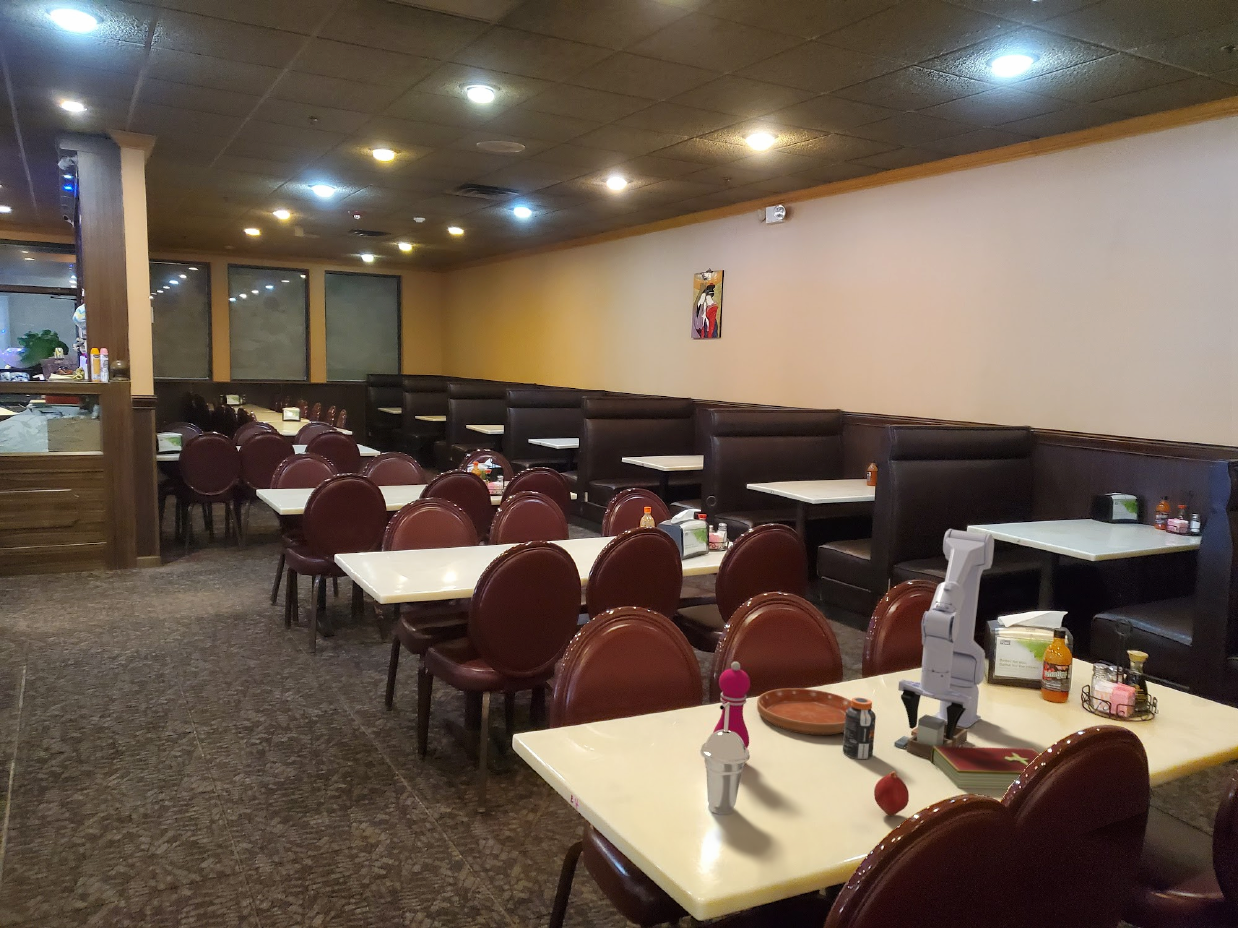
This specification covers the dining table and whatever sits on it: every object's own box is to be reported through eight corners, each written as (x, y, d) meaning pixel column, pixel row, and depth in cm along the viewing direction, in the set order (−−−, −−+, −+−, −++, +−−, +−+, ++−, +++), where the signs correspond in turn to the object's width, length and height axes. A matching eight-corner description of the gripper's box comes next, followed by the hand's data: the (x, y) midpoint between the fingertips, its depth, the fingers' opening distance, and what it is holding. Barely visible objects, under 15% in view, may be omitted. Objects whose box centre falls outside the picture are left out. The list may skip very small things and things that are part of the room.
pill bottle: (873, 761, 179) (878, 706, 178) (843, 757, 181) (847, 702, 180) (871, 750, 185) (875, 696, 184) (841, 746, 186) (846, 693, 185)
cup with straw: (755, 810, 156) (763, 698, 154) (723, 826, 149) (730, 709, 148) (717, 792, 162) (724, 684, 160) (684, 807, 155) (691, 694, 154)
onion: (867, 806, 159) (871, 763, 159) (899, 807, 160) (902, 764, 159) (879, 822, 153) (883, 777, 153) (912, 823, 154) (916, 778, 153)
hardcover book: (930, 763, 181) (932, 743, 181) (1030, 766, 182) (1032, 746, 182) (956, 790, 169) (958, 769, 169) (1063, 793, 171) (1065, 772, 170)
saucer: (758, 734, 191) (759, 717, 191) (754, 698, 214) (755, 683, 213) (868, 745, 188) (869, 728, 188) (852, 707, 211) (853, 692, 211)
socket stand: (921, 727, 200) (922, 716, 199) (966, 740, 193) (967, 729, 193) (892, 746, 188) (893, 735, 187) (939, 761, 181) (940, 749, 181)
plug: (922, 746, 189) (925, 714, 188) (941, 752, 186) (944, 719, 186) (915, 751, 186) (918, 719, 185) (934, 757, 183) (937, 724, 183)
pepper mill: (750, 757, 178) (757, 659, 176) (743, 772, 171) (750, 669, 169) (715, 751, 180) (721, 653, 178) (706, 764, 173) (713, 663, 172)
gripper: (894, 663, 186) (889, 727, 187) (965, 681, 177) (959, 748, 178) (908, 657, 191) (903, 718, 193) (977, 673, 182) (971, 738, 183)
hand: (930, 732), depth 186 cm, fingers open, 7 cm apart
